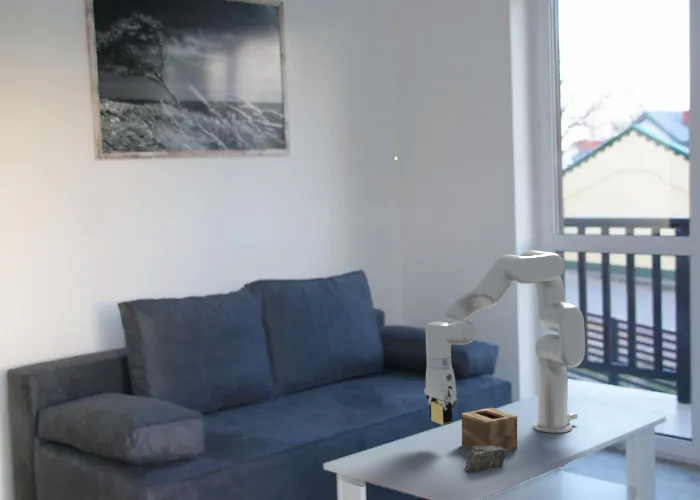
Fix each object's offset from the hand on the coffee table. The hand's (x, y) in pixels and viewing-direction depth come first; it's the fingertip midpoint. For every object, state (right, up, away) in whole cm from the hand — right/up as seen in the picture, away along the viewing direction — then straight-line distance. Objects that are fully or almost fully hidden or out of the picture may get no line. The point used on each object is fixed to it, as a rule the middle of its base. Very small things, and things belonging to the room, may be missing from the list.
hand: (441, 418), depth 281 cm
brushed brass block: (0, -1, 0) cm, 1 cm away
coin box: (+15, -9, +1) cm, 17 cm away
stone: (+11, -11, -18) cm, 24 cm away
